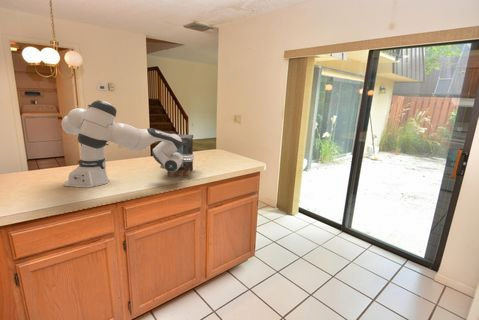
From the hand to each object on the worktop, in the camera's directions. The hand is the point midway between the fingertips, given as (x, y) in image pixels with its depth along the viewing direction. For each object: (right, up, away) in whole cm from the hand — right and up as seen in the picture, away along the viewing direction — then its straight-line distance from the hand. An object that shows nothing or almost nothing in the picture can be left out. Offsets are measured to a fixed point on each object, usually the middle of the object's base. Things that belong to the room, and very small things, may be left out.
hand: (179, 155), depth 168 cm
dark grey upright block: (-1, -13, +2) cm, 13 cm away
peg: (0, -8, +1) cm, 8 cm away
